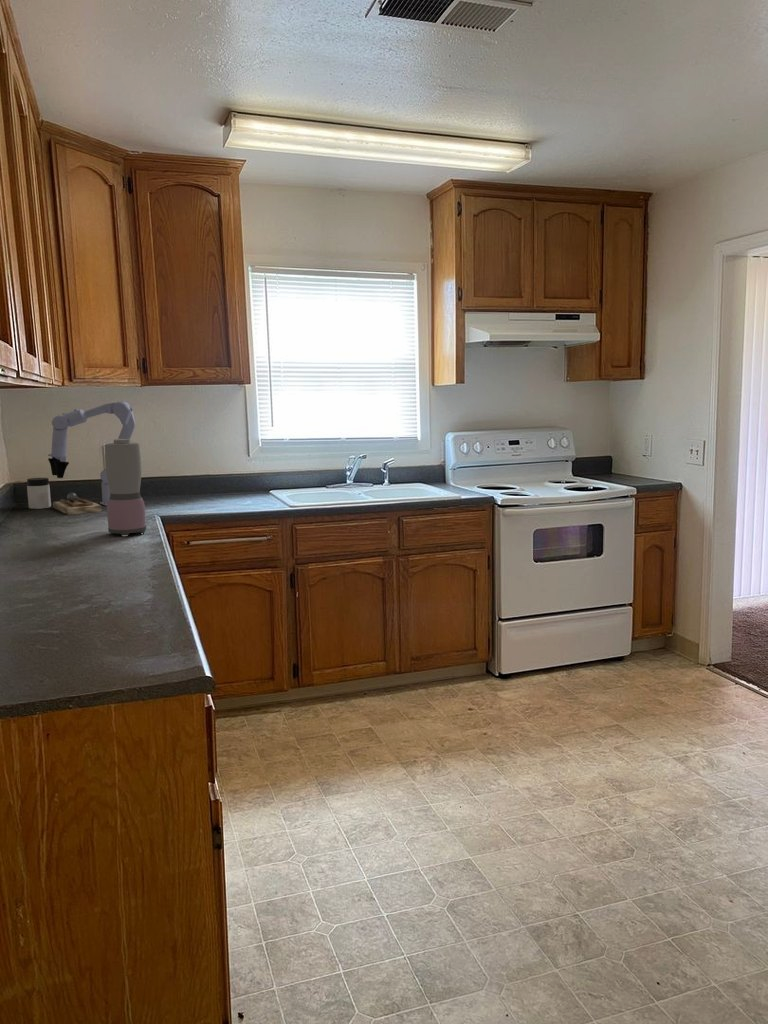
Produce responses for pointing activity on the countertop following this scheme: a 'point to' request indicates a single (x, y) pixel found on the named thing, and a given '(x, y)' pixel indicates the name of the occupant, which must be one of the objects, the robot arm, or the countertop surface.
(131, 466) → the blender
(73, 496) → the ball
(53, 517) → the countertop surface
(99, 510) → the board
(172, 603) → the countertop surface
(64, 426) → the robot arm
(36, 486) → the jar
